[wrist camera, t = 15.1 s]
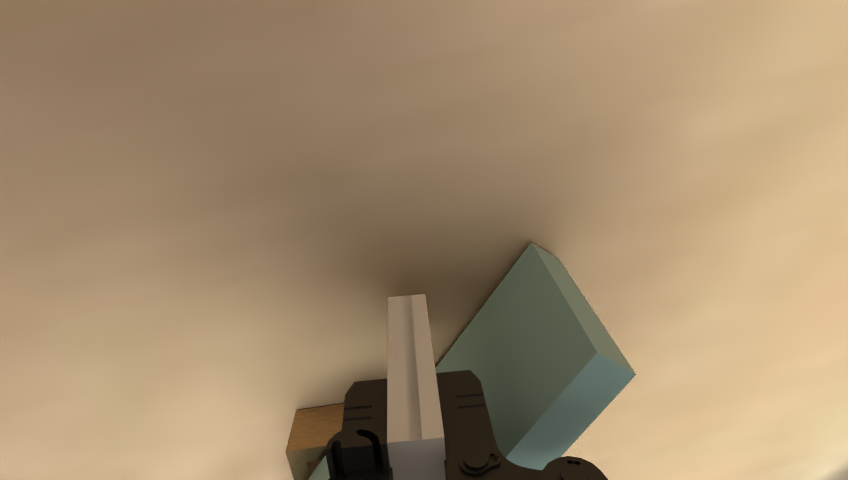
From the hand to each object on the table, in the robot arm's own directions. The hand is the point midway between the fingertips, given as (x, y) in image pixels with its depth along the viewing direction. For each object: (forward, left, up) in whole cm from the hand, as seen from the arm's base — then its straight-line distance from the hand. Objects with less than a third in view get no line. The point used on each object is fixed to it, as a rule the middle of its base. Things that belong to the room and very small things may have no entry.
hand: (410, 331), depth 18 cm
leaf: (+4, 0, -2) cm, 4 cm away
